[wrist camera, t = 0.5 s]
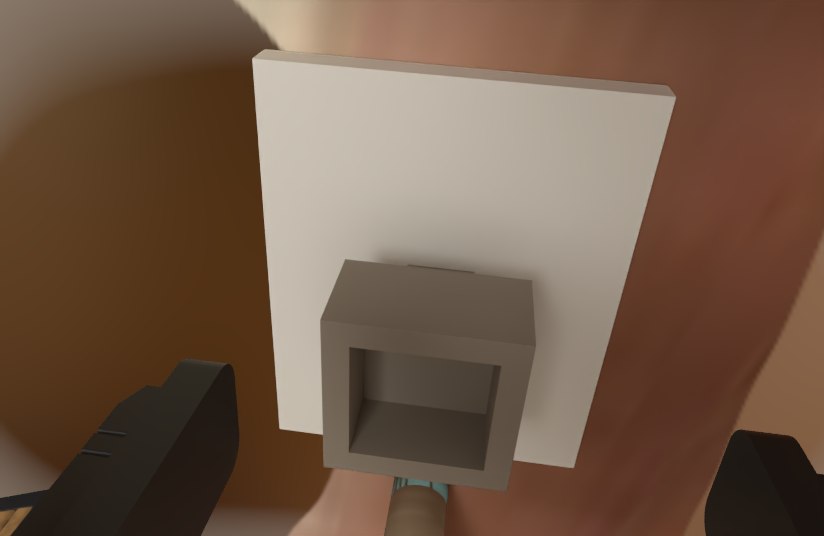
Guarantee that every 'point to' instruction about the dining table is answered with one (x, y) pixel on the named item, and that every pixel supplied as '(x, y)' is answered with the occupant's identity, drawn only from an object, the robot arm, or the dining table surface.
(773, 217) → the dining table surface
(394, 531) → the rail post
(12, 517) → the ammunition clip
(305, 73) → the cup bracket
